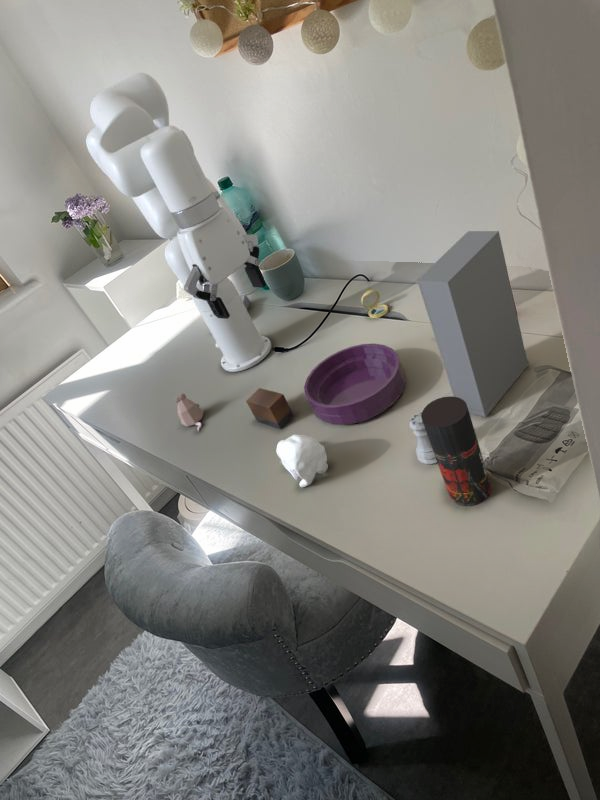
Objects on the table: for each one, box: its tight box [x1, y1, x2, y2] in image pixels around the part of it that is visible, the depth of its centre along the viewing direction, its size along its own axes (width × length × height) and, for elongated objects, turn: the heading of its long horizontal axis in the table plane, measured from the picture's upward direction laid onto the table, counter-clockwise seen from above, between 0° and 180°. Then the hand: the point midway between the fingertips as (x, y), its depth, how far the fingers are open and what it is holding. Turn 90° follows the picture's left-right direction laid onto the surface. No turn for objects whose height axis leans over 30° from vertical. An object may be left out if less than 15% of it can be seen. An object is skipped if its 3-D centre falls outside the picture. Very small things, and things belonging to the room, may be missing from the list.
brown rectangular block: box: [245, 387, 295, 430], centre depth 118 cm, size 7×4×6 cm, turn 46°
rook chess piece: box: [408, 411, 438, 465], centre depth 93 cm, size 4×4×8 cm
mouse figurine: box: [174, 392, 204, 432], centre depth 128 cm, size 5×8×7 cm, turn 21°
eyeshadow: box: [360, 289, 389, 319], centre depth 134 cm, size 4×5×5 cm
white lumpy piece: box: [275, 434, 329, 488], centre depth 102 cm, size 6×8×12 cm
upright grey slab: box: [416, 230, 530, 418], centre depth 95 cm, size 14×6×25 cm, turn 134°
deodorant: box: [421, 395, 492, 507], centre depth 83 cm, size 6×6×15 cm
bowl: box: [303, 343, 407, 426], centre depth 113 cm, size 18×18×5 cm
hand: (242, 301), depth 108 cm, fingers open, 9 cm apart
